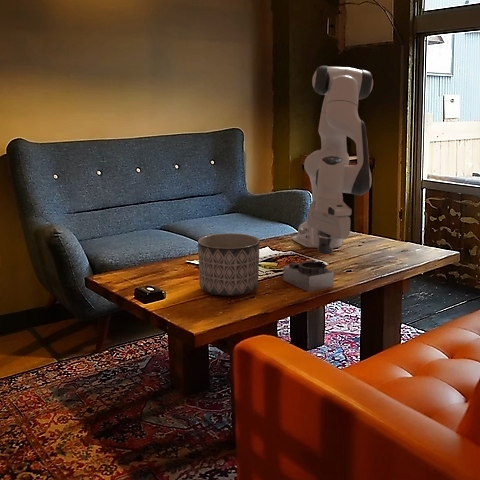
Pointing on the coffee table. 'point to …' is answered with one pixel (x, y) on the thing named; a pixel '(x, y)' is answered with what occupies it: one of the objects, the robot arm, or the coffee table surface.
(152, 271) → the coffee table surface
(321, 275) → the camera body
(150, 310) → the coffee table surface
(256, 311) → the coffee table surface
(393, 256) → the coffee table surface
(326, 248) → the lens
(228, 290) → the planter
